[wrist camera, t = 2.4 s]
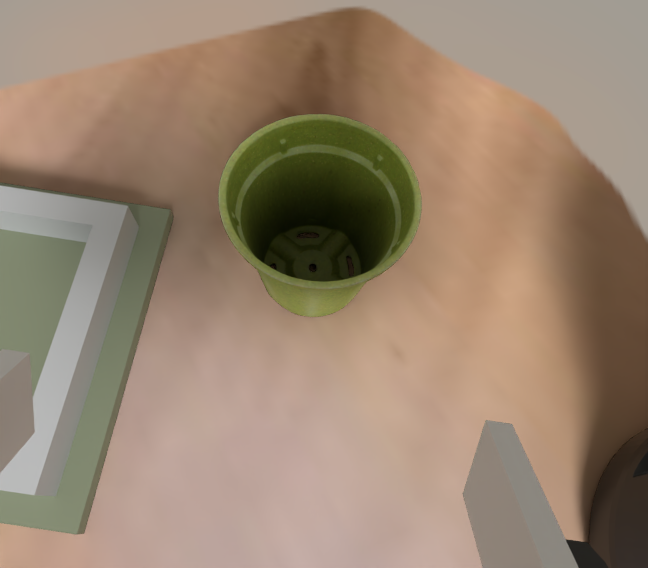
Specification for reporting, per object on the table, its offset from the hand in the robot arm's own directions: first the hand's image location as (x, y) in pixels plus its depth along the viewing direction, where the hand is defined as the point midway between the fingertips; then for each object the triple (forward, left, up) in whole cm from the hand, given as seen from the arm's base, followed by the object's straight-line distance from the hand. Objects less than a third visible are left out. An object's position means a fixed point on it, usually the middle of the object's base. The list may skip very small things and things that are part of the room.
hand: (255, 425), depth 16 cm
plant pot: (-1, -11, -14) cm, 18 cm away
